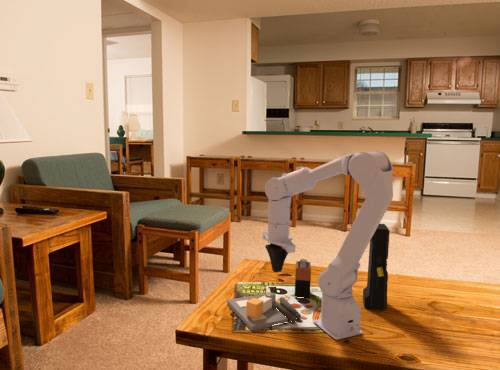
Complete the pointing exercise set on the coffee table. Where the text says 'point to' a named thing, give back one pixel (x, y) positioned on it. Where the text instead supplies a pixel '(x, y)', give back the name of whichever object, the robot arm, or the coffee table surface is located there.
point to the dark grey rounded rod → (290, 308)
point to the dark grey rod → (285, 312)
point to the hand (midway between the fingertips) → (277, 271)
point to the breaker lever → (260, 305)
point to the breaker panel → (261, 322)
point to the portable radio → (377, 270)
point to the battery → (303, 278)
